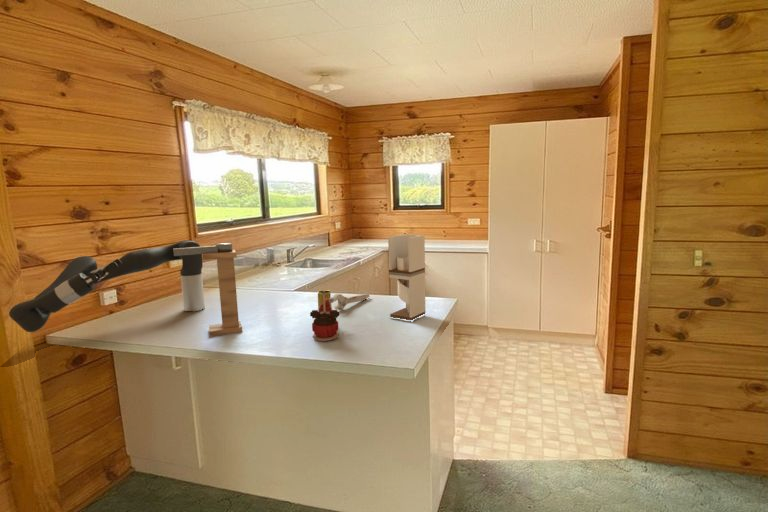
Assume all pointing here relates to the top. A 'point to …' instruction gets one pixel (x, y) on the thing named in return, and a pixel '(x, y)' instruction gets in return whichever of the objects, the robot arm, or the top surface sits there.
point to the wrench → (348, 300)
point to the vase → (320, 297)
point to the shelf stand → (226, 294)
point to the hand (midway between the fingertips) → (118, 262)
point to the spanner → (204, 249)
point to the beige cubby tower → (408, 273)
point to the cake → (325, 321)
